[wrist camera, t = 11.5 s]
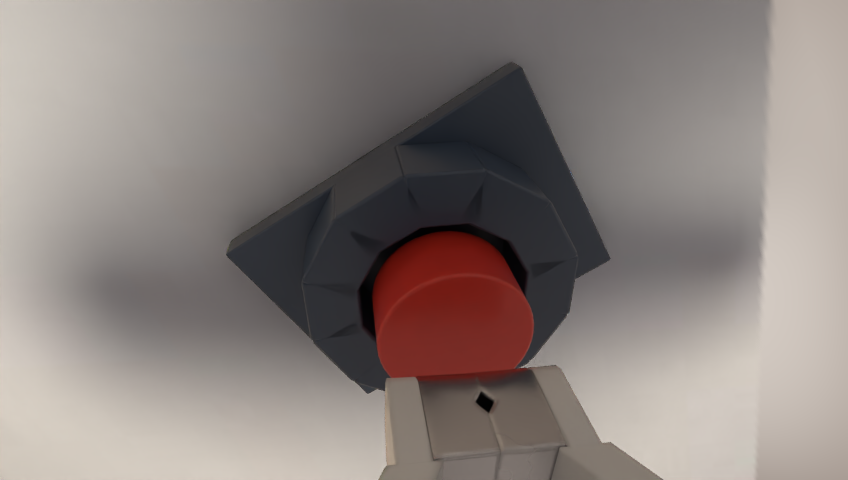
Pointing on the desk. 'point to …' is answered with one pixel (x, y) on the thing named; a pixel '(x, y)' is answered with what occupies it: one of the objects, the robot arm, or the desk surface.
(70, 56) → the desk surface
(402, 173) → the button housing
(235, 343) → the desk surface
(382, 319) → the button
